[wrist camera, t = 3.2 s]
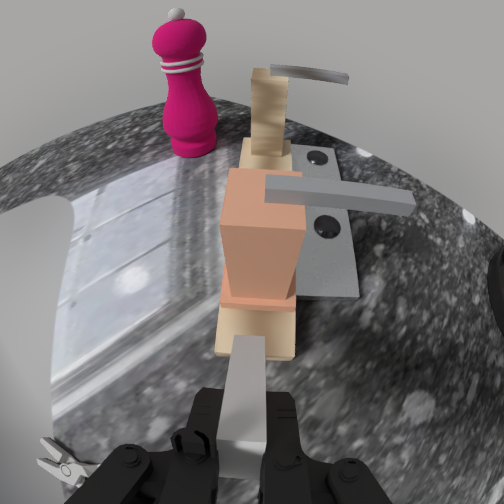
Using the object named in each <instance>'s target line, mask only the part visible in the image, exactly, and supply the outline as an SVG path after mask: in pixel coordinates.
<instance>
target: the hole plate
mask: <svg viewBox="0 0 504 504" xmlns="http://www.w3.org/2000/svg"><path fill="white" fill-rule="evenodd" d="M291 157H292V171H296V172H302V177H310V178H320V179H330V180H339V181H341V178H340V173H339V169H338V165H337V161H336V157H335V152H334V149H333V148H325V147H316V146H307V145H296V144H291ZM305 218H306V232H305V236H304V239H303V243H302V246H301V250H300V253H299V257H298V260H297V264H296V300H322V301H357V299H358V298H359V297H360V296H359V287H358V278H357V270H356V262H355V255H354V248H353V242H352V235H351V229H350V223H349V218H348V212H347V209H339V208H328V207H317V206H305Z"/></svg>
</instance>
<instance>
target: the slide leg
mask: <svg viewBox="0 0 504 504" xmlns="http://www.w3.org/2000/svg"><path fill="white" fill-rule="evenodd" d="M305 206H317V207H328V208H339V209H349V210H359V211H368V212H377V213H385V214H393V215H401V216H408V217H409V215H410V214H411V212H412V211H413V209H414V208H415V206H416V203H415V200H414V197H413V195H412V192H411V191H407V190H402V189H396V188H390V187H383V186H377V185H370V184H363V183H355V182H347V181H339V180H330V179H320V178H310V177H302V172H296V171H283V170H267V169H247V168H230V170H229V175H228V180H227V186H226V191H225V197H224V202H223V208H222V214H221V219H220V231H221V237H222V244H223V250H224V256H225V266H224V274H223V281H222V289H221V297H220V304H221V308H230V309H244V310H259V311H278V312H294V310H295V308H296V264H297V260H298V257H299V253H300V250H301V246H302V243H303V239H304V236H305V232H306V218H305Z"/></svg>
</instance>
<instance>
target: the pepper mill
mask: <svg viewBox="0 0 504 504" xmlns="http://www.w3.org/2000/svg"><path fill="white" fill-rule="evenodd" d="M184 15H185V12H184V10H183V9H181V8H174V9H172V10H171V11H170V12H169V14H168V17H169V19H170V20H171V21H169V22H167V23H165V24H164V25H162V26H160V27H159V28H158V29H157V30H156V32H155V34H154V36H153V40H152V46H153V49H154V51H155V53H156V54H158V55H159V56H161V57H162V60H161V61H160V64H161V65H162V66H161V67H162V68H161V70H162V72H164V73H166V76H167V79H168V86H169V91H168V97H167V101H166V105H165V108H164V112H163V126H164V130H165V131H166V133H167V134H168V135H169V136H171V145H172V149H173V152H174V153H175V154H176V155H178V156H180V157H185V158H194V157H199V156H202V155H205V154H207V153H209V152H210V151H211V150H212V149H214V147H215V146H216V143H217V140H216V131H215V129H214V127H215V126H216V124H217V122H218V114H217V109H216V107H215V105H214V102H213V101H212V99H211V98H210V96H209V95H208V93H207V92H206V90H205V89H204V87H203V84H202V81H201V75H200V74H201V66H202V65H203V64H204V60H203V53H201V52H200V50H201V49H202V47H203V46H204V44H205V42H206V32H205V29H204V27H203V26H202V25H201V24H200V23H199V22H197V21H195V20H192V19H183V17H184Z"/></svg>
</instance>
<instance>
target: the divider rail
mask: <svg viewBox="0 0 504 504" xmlns="http://www.w3.org/2000/svg"><path fill="white" fill-rule="evenodd" d="M288 77H294V78H304V79H312V80H320V81H327V82H334V83H339V84H345V85H348V80H349V76H348V74H346V73H340V72H335V71H328V70H322V69H314V68H306V67H297V66H287V65H273V64H271V66H270V69H263V68H254V69H253V73H252V78H251V138H246V137H244V139H243V145H242V151H241V157H240V163H239V168H247V169H267V170H283V171H292V157H291V141H290V140H283V137H284V127H285V116H286V105H287V93H288V82H289V81H288ZM295 317H296V308H295V310H294V312H278V311H259V310H244V309H230V308H221V304H220V308H219V316H218V325H217V333H216V342H215V351H214V352H215V353H216V355H217V356H220V357H230V356H231V350H232V345H233V339H234V334H236V335H251V336H265V360H281V361H291V360H292V359H293V358H294V357H295Z"/></svg>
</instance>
